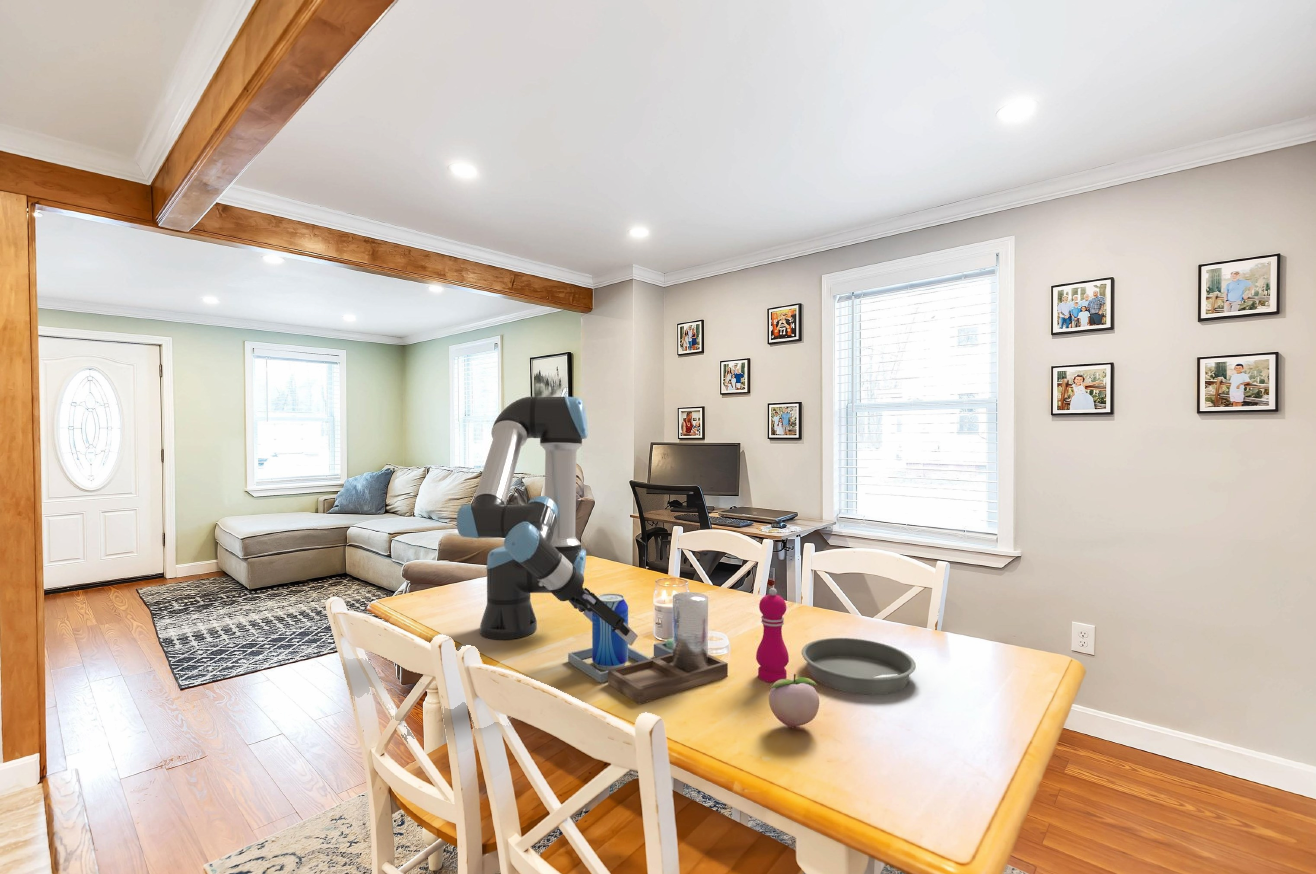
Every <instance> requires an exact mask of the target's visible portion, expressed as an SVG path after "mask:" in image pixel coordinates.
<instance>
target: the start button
mask: <svg viewBox="0 0 1316 874" xmlns="http://www.w3.org/2000/svg"><path fill="white" fill-rule="evenodd" d="M665 641H666V647H667V648H669V649H671V650H673V637H670V638H668V639H666V640H665Z"/></svg>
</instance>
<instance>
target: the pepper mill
mask: <svg viewBox="0 0 1316 874" xmlns="http://www.w3.org/2000/svg"><path fill="white" fill-rule="evenodd" d="M777 593H778V591H777V589H776V588H774V587H772V588H769V590H768V594H766V595H764V596H763V597H762V598H761V599H760V600H759V604H758V606H759V607H758V608H759V611H760V613H761V614H762V615H761V617H760V618H761V621H760V622H761V624H762V627H763V632H762V633H763V634H762V638H761V640H760V643H759V645H758V647H757V649H756V653H755V660H756V662H757V664H758V665H759V667H758V669H757V670H758V671H757V673H758V675H757V676H758V678H759V679H760V680H762V681H764V682H767V683H773V684H774V683H775V682H776V681H778V680H780V679H788V678H787V672H788V671H787V669H786V666H787V665H789V664H788V663H789V661H790V659H789V656H790V655H789V652H788V649H787V646H786V644H785V642H784V639H783V634H782V629H783V625H784V624H785V621H784V620H785V617H784V615H785V614H786V611H787V603H786V601H785V599H784V598H783V597H782V596H780V595H777Z"/></svg>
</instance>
